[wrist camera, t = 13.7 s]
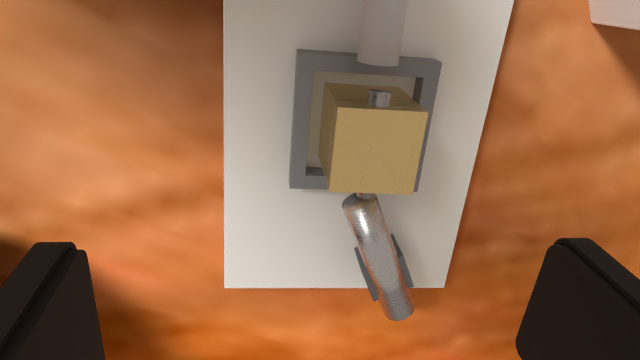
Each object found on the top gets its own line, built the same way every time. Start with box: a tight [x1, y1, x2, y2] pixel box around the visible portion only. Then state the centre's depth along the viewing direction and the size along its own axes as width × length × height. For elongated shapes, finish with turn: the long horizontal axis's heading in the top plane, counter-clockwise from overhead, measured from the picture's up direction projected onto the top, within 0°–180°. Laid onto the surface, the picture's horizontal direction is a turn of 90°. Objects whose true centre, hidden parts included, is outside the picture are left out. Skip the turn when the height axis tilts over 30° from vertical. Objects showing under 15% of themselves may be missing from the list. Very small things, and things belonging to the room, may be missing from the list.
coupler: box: [318, 82, 428, 199], centre depth 28 cm, size 6×5×6 cm
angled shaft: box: [342, 193, 415, 321], centre depth 33 cm, size 10×3×4 cm, turn 20°
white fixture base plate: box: [223, 0, 514, 288], centre depth 29 cm, size 28×18×6 cm, turn 175°
